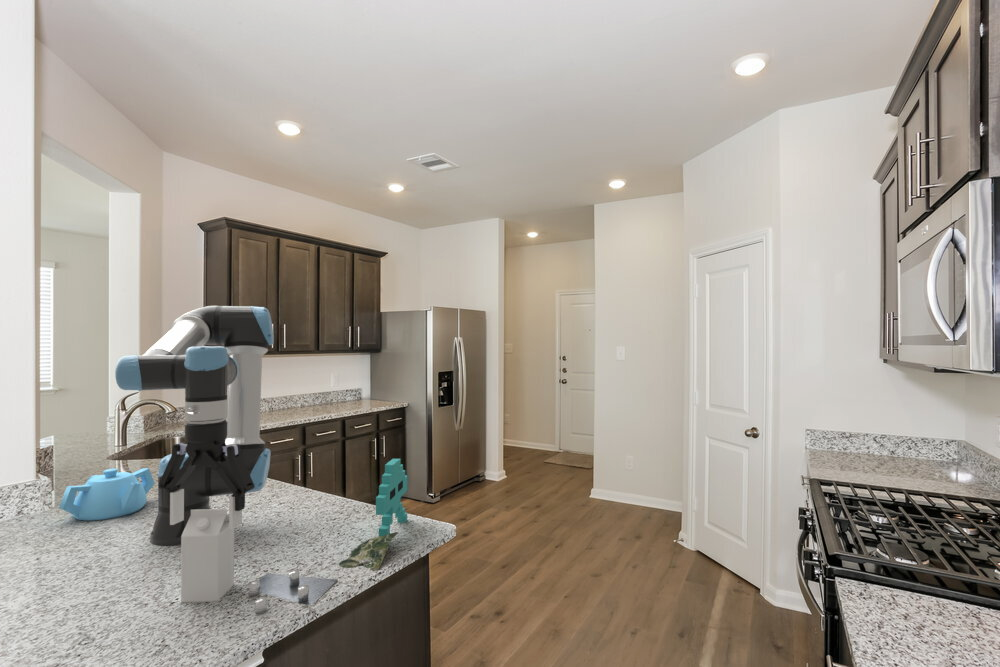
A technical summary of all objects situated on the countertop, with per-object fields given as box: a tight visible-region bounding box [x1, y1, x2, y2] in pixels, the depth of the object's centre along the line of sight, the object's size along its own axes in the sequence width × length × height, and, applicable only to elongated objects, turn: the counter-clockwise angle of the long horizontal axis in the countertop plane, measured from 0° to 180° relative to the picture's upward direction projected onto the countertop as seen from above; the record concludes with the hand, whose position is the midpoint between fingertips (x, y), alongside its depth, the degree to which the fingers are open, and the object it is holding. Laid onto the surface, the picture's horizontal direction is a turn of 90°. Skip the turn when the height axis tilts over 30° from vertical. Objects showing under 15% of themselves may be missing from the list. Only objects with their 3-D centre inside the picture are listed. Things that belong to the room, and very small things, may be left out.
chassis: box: [247, 569, 339, 615], centre depth 98 cm, size 17×17×4 cm
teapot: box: [58, 467, 156, 521], centre depth 148 cm, size 19×19×14 cm
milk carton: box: [180, 508, 235, 603], centre depth 99 cm, size 7×7×19 cm
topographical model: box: [338, 531, 399, 572], centre depth 117 cm, size 16×15×2 cm
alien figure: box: [375, 458, 408, 537], centre depth 133 cm, size 20×2×20 cm, turn 174°
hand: (205, 524), depth 98 cm, fingers open, 13 cm apart
